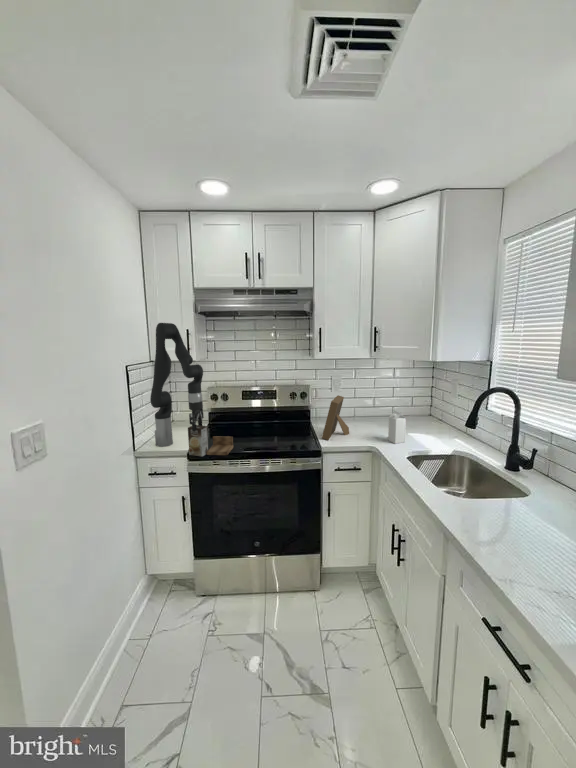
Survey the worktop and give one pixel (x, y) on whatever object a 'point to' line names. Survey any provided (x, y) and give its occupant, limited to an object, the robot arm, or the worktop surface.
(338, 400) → the photo frame
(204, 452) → the coffee box
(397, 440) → the milk carton
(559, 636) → the worktop surface
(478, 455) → the worktop surface
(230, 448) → the ledge
